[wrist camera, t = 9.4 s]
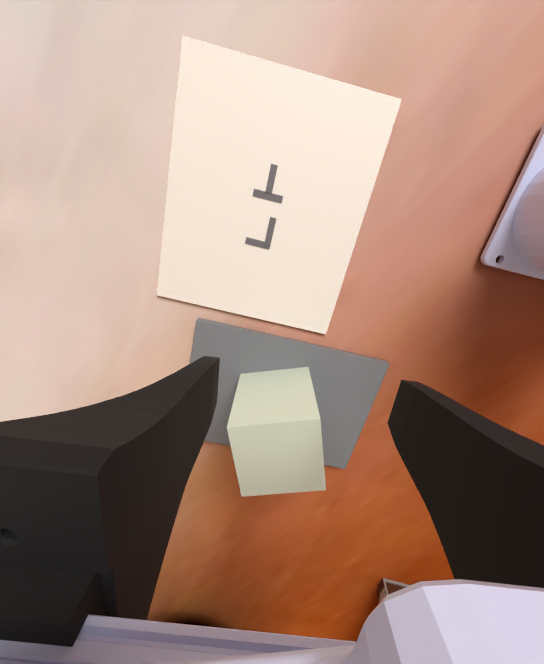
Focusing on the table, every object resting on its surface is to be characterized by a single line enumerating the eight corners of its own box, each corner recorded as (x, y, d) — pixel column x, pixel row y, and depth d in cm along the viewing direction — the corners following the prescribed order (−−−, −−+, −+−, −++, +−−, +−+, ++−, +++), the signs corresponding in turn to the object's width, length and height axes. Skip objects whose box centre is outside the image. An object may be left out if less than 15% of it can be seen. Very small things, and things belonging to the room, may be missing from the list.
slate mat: (386, 360, 21) (389, 364, 20) (343, 463, 24) (345, 469, 24) (198, 317, 20) (196, 320, 19) (181, 430, 23) (179, 435, 23)
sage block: (308, 366, 20) (320, 419, 15) (313, 423, 22) (326, 490, 16) (240, 373, 21) (226, 427, 15) (250, 429, 22) (241, 496, 17)
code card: (400, 100, 15) (401, 99, 15) (325, 333, 20) (325, 334, 20) (183, 38, 15) (182, 34, 14) (157, 294, 19) (156, 295, 19)
